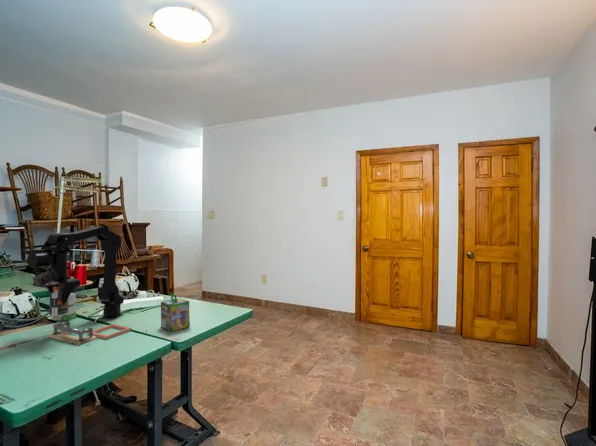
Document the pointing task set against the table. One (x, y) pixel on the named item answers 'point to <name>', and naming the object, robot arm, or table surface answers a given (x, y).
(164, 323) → the chalk box
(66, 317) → the ink box
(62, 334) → the wire base
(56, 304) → the pill bottle
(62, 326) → the bent wire
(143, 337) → the table surface
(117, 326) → the frame
